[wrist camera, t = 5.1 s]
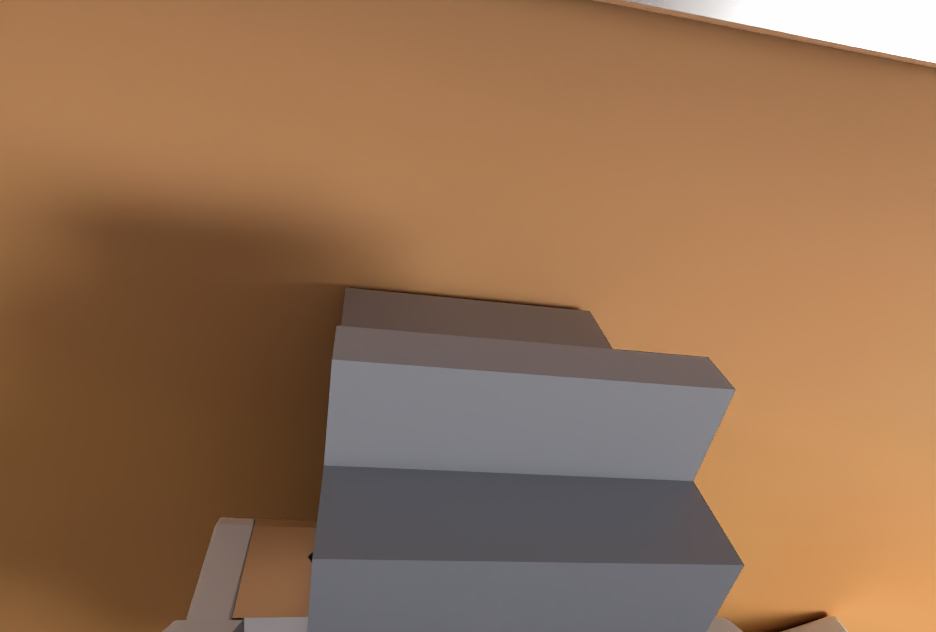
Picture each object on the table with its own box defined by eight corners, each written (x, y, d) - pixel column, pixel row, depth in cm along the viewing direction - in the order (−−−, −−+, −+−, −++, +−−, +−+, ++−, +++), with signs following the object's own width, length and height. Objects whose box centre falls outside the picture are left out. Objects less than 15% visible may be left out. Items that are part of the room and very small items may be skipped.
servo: (610, 242, 9) (864, 542, 4) (495, 622, 14) (557, 987, 9) (352, 210, 9) (307, 530, 4) (317, 623, 13) (276, 1023, 8)
